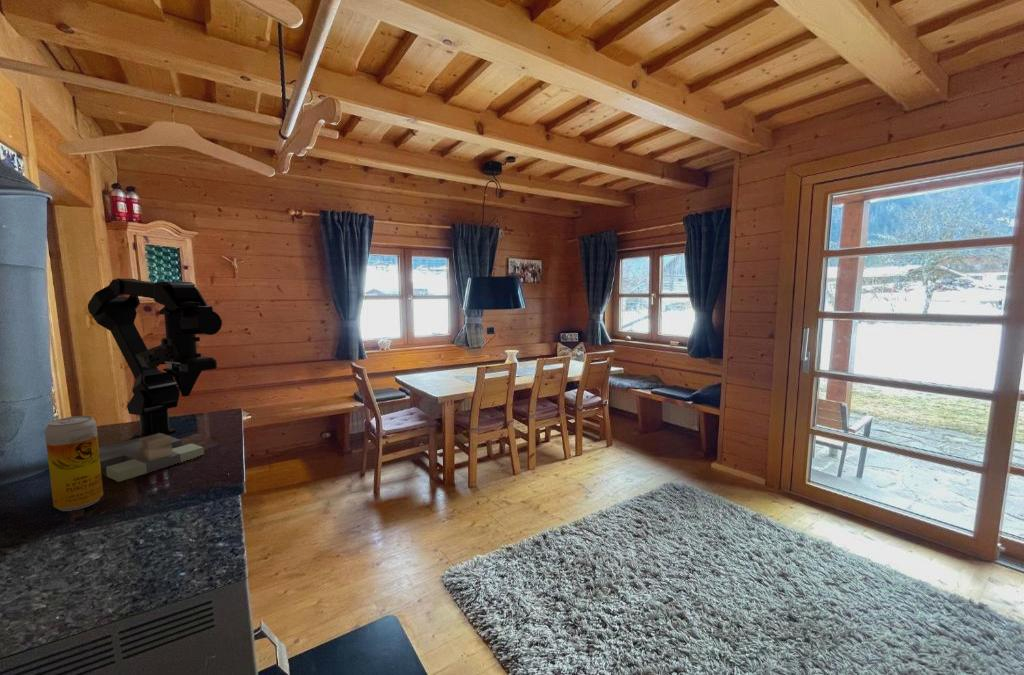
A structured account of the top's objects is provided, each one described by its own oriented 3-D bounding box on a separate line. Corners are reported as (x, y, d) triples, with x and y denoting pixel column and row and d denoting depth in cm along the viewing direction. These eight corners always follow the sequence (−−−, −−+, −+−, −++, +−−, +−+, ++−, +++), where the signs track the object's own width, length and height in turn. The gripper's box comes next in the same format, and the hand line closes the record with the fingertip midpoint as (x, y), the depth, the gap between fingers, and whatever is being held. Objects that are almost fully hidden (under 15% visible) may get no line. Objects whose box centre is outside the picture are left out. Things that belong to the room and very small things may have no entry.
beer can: (71, 514, 70) (62, 426, 68) (44, 510, 71) (33, 424, 70) (112, 497, 76) (104, 416, 74) (86, 494, 77) (78, 413, 76)
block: (140, 457, 89) (139, 439, 89) (163, 451, 92) (161, 433, 92) (149, 461, 87) (148, 442, 87) (172, 454, 91) (171, 436, 90)
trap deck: (76, 461, 91) (75, 453, 91) (159, 440, 105) (159, 432, 104) (118, 481, 82) (117, 472, 82) (203, 455, 95) (203, 447, 95)
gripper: (121, 334, 100) (127, 398, 102) (160, 338, 91) (166, 409, 93) (175, 330, 110) (180, 389, 112) (216, 334, 101) (220, 398, 103)
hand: (185, 396), depth 105 cm, fingers closed
